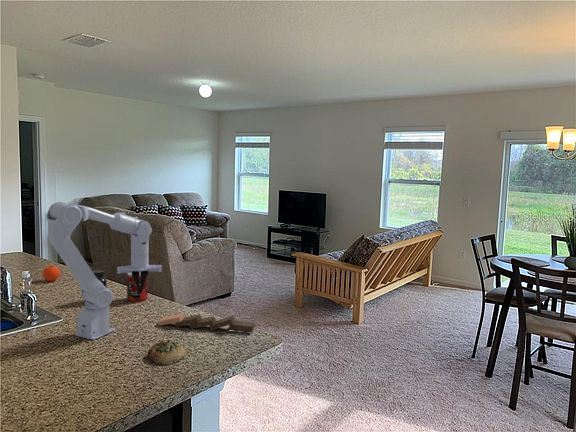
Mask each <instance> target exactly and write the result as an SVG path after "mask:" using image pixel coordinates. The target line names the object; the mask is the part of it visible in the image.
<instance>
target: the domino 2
mask: <svg viewBox="0 0 576 432" xmlns="http://www.w3.org/2000/svg"><path fill="white" fill-rule="evenodd" d="M184 317H185V316H184ZM200 319H202V315H201V313H198V314H193V315H189V316H186V317H185V318H184V319H183V320H182V321H181V322H176V323H174V325H175V328H179V327H183V326H188V325H189V324H193V323H197V322H199V320H200ZM189 326H190V325H189Z"/></svg>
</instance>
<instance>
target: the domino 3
mask: <svg viewBox="0 0 576 432" xmlns="http://www.w3.org/2000/svg"><path fill="white" fill-rule="evenodd" d="M215 321H217V320H216V316H209V317H204V318H202V317H201V319H200V320H199V322H197V323H193V324H189V329H190V328H192V329H196V328H202V327H209V326H210V325H213V324H214V322H215Z"/></svg>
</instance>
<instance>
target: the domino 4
mask: <svg viewBox="0 0 576 432" xmlns="http://www.w3.org/2000/svg"><path fill="white" fill-rule="evenodd" d="M235 320H236V318H235V316H234V314H233V315H230V316H227V317H224V318H220V319H217V320H216V321H215V322H214V324H213V325H209V326H208V327H209V329H214V330H217V329H220V328H223V327H226V326H227V327H228V326H229V325H230V324H233V322H234V321H235Z"/></svg>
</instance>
